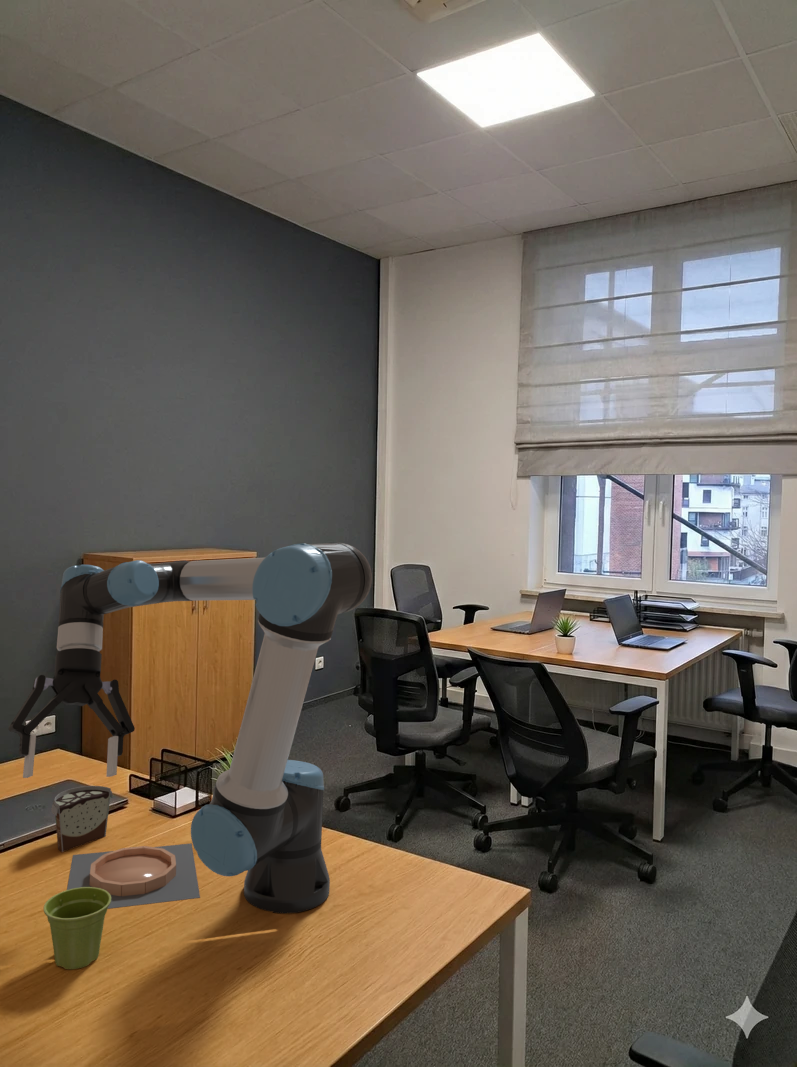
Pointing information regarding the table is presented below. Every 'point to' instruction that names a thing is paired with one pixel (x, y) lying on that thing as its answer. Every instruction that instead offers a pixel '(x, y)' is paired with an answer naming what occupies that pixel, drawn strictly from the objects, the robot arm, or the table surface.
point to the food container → (81, 815)
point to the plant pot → (77, 925)
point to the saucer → (133, 870)
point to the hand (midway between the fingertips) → (70, 776)
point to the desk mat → (175, 890)
